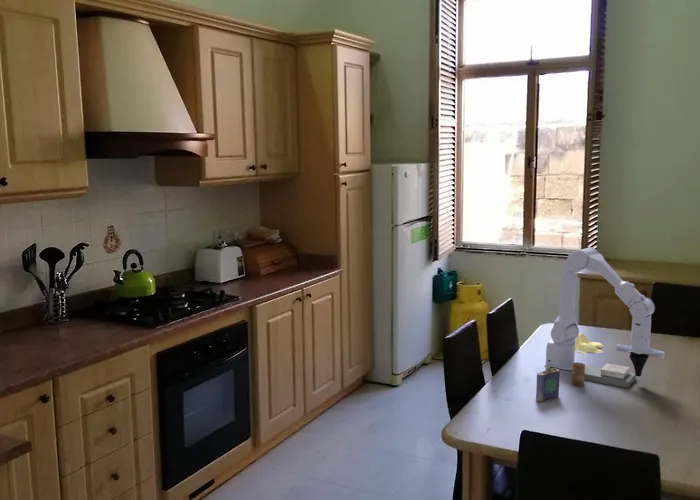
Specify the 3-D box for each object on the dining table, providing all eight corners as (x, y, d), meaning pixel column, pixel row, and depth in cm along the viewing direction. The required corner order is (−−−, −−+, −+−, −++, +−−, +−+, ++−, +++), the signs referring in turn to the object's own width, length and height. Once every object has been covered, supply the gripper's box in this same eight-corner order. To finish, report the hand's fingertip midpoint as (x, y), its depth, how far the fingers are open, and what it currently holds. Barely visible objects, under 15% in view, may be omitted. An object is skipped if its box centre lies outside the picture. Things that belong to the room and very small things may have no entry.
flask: (539, 403, 208) (541, 369, 206) (532, 400, 210) (534, 367, 208) (560, 397, 212) (562, 364, 211) (553, 394, 215) (555, 362, 213)
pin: (569, 385, 223) (570, 364, 222) (573, 381, 226) (574, 361, 225) (581, 387, 220) (582, 367, 219) (585, 384, 224) (586, 363, 223)
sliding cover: (600, 374, 226) (600, 369, 225) (606, 368, 232) (606, 363, 231) (623, 379, 221) (624, 373, 221) (629, 372, 227) (629, 367, 227)
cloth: (546, 350, 262) (547, 335, 261) (562, 339, 277) (562, 324, 276) (605, 360, 249) (606, 344, 248) (618, 348, 264) (619, 333, 263)
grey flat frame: (572, 377, 230) (573, 371, 230) (581, 369, 238) (582, 364, 238) (628, 387, 220) (628, 382, 219) (635, 379, 228) (635, 373, 227)
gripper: (614, 335, 221) (612, 374, 223) (662, 342, 213) (659, 383, 215) (620, 330, 227) (618, 368, 229) (666, 336, 218) (664, 376, 220)
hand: (638, 375), depth 222 cm, fingers closed
